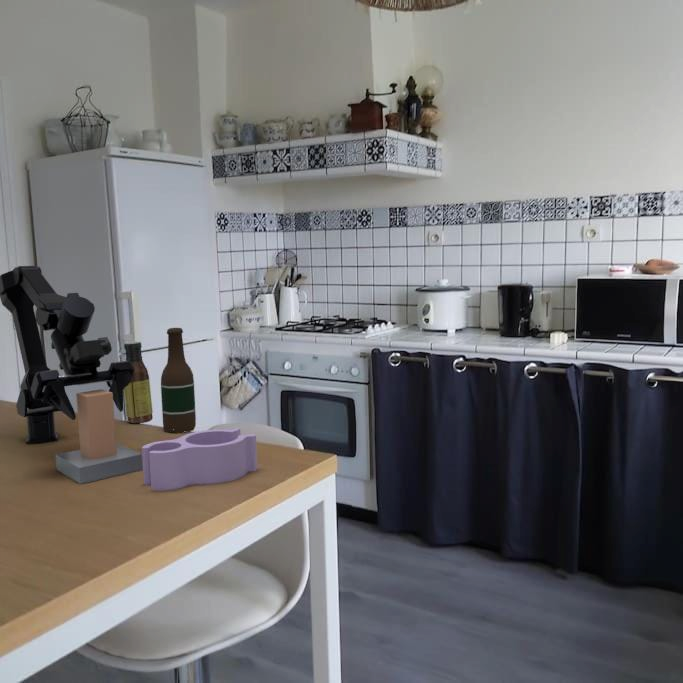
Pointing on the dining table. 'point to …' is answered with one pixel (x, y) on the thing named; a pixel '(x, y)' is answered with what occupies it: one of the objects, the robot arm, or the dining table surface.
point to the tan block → (96, 424)
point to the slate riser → (98, 464)
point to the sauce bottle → (137, 387)
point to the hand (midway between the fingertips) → (98, 414)
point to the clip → (199, 459)
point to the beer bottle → (177, 387)
